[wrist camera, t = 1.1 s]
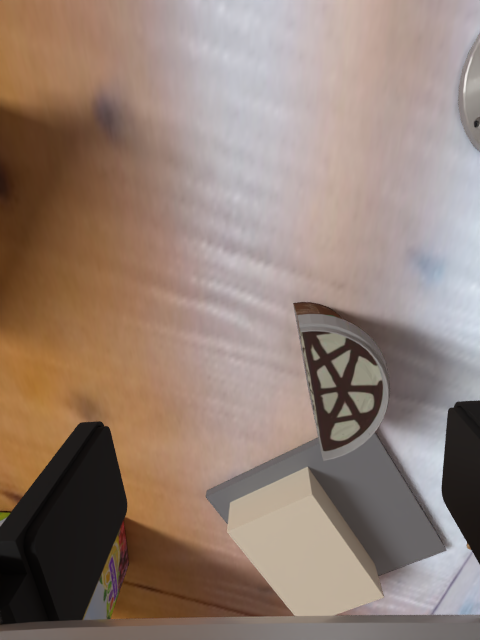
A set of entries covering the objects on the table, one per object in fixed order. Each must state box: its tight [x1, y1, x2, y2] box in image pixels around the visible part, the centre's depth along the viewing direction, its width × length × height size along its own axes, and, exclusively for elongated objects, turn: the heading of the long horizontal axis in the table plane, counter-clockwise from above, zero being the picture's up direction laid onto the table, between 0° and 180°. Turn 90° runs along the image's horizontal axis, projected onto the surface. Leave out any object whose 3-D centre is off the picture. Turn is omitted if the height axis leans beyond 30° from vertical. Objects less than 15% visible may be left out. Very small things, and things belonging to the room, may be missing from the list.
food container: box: [293, 302, 390, 461], centre depth 34 cm, size 12×6×10 cm, turn 12°
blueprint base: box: [206, 432, 446, 616], centre depth 43 cm, size 20×20×5 cm
